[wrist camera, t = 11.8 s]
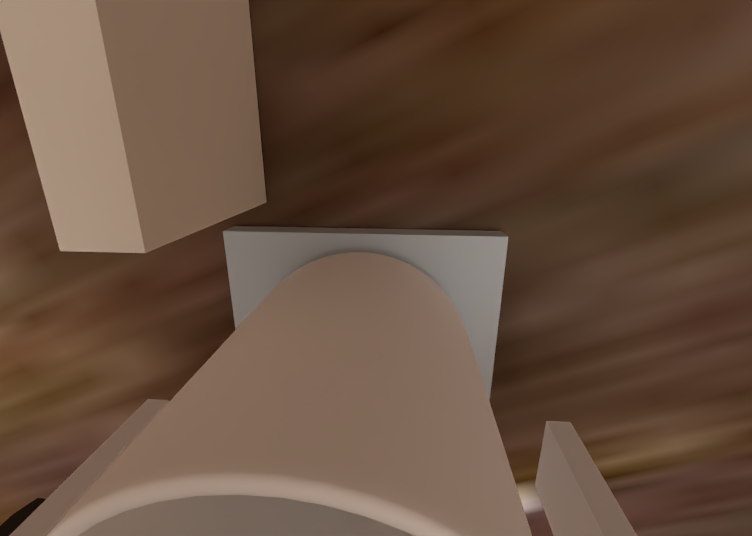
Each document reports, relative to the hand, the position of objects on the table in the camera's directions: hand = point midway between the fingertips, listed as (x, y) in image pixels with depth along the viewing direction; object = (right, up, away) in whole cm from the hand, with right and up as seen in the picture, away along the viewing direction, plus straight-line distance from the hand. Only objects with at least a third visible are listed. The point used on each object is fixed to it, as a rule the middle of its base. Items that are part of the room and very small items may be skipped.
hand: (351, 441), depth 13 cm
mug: (0, +1, +4) cm, 4 cm away
